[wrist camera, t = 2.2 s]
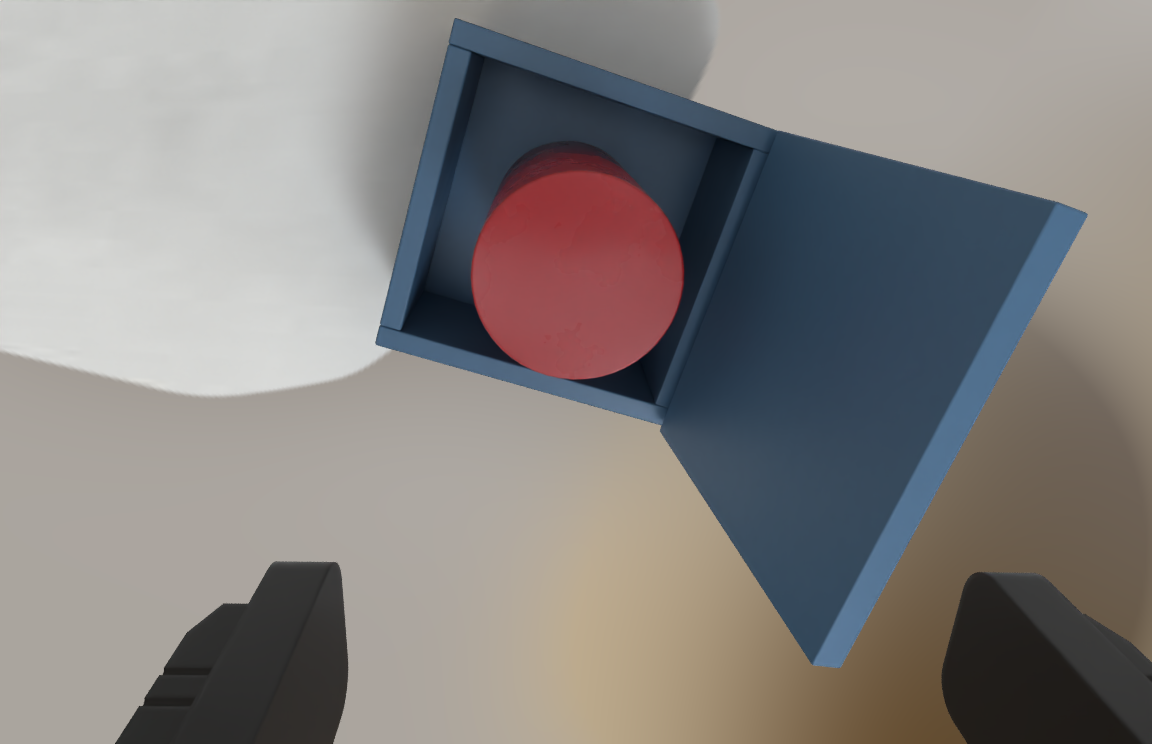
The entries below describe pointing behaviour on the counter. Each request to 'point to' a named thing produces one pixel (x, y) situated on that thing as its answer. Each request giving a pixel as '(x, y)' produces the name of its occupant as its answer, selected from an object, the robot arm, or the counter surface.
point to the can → (575, 264)
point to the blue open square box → (533, 118)
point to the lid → (852, 366)
